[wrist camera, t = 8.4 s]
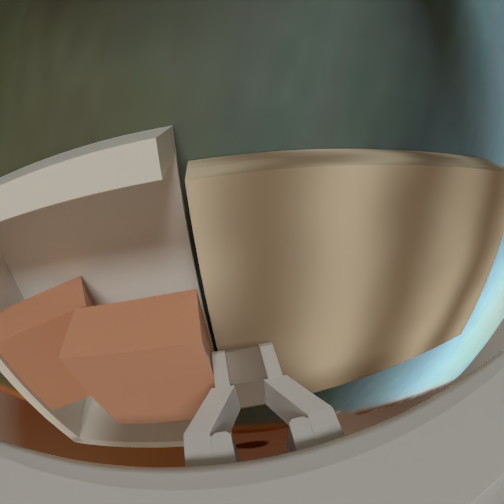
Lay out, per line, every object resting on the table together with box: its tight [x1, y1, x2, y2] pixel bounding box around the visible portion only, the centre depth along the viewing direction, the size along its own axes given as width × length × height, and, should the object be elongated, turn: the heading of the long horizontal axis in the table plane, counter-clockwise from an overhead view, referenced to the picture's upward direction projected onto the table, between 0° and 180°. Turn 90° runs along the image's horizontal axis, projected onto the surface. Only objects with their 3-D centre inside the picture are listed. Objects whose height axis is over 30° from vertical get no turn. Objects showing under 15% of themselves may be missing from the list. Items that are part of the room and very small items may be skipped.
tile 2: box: [59, 289, 215, 424], centre depth 10 cm, size 5×5×2 cm
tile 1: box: [0, 276, 94, 410], centre depth 10 cm, size 5×5×2 cm
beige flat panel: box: [185, 149, 504, 409], centre depth 13 cm, size 18×13×3 cm
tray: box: [0, 125, 233, 447], centre depth 11 cm, size 11×16×4 cm
